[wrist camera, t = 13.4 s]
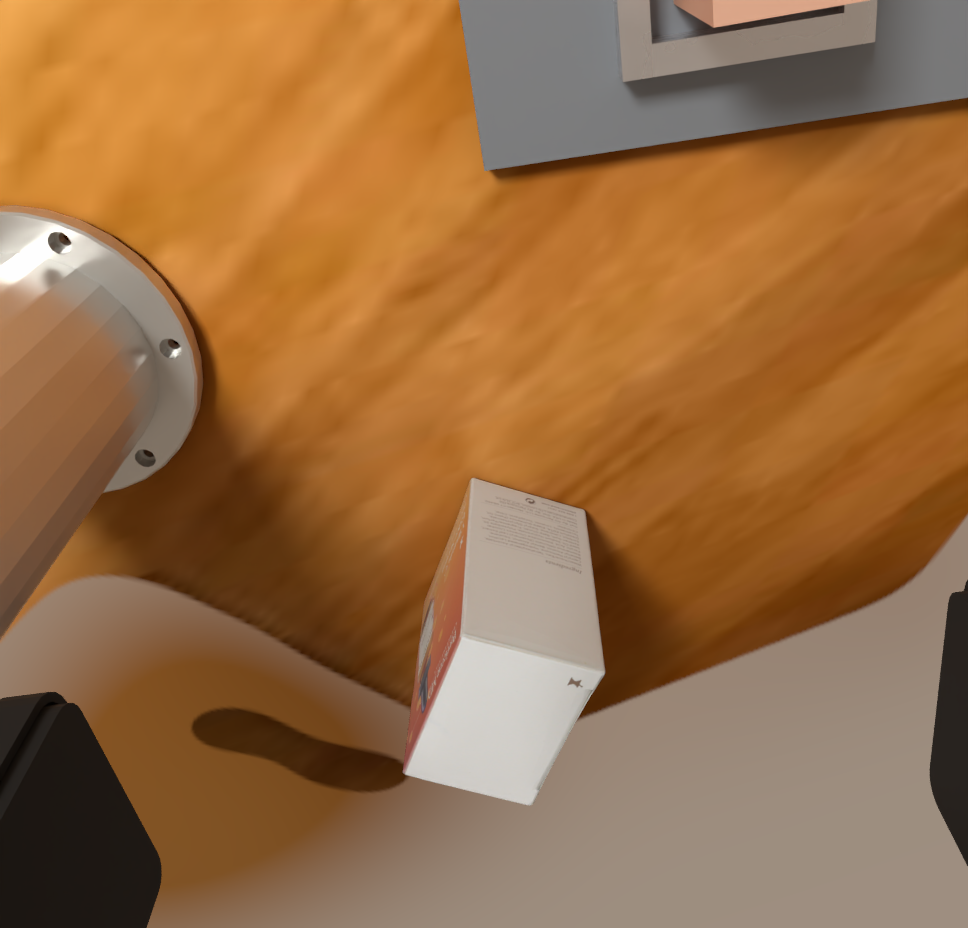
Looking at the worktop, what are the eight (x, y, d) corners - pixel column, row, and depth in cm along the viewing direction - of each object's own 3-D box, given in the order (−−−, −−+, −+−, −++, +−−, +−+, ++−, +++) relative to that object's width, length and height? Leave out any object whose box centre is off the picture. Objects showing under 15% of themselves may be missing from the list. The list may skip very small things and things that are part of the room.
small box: (471, 472, 41) (460, 631, 32) (588, 507, 42) (610, 671, 33) (420, 604, 45) (397, 778, 36) (528, 633, 46) (532, 811, 37)
